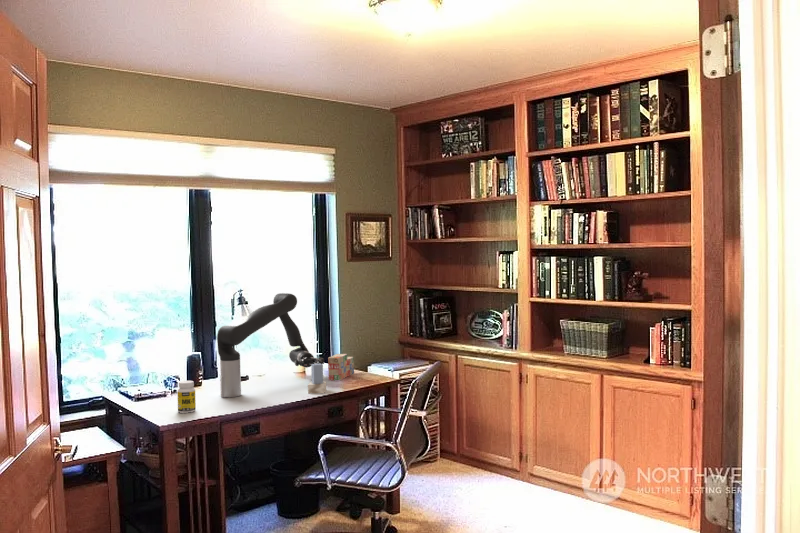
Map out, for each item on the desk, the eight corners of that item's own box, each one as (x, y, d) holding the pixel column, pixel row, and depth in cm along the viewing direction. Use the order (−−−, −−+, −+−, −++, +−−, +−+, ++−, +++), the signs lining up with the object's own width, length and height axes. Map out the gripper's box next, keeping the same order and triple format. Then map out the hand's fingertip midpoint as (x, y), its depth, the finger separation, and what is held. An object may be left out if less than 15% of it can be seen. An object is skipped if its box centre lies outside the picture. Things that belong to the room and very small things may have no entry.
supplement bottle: (181, 414, 276) (180, 384, 276) (175, 411, 282) (174, 381, 281) (198, 411, 280) (197, 381, 280) (192, 408, 286) (191, 379, 286)
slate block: (313, 384, 312) (313, 365, 312) (311, 382, 316) (311, 364, 316) (323, 383, 314) (322, 364, 314) (320, 381, 318) (320, 363, 318)
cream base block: (308, 394, 311) (307, 384, 311) (311, 390, 319) (310, 381, 319) (323, 394, 311) (323, 384, 311) (326, 390, 319) (326, 381, 318)
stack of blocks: (343, 373, 363) (343, 351, 363) (354, 373, 362) (353, 351, 361) (328, 380, 343) (327, 357, 343) (339, 381, 341) (338, 357, 341)
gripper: (291, 352, 337) (297, 357, 321) (318, 350, 341) (326, 355, 326) (292, 367, 337) (298, 372, 321) (319, 365, 342) (326, 370, 326)
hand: (312, 363), depth 324 cm, fingers open, 8 cm apart
